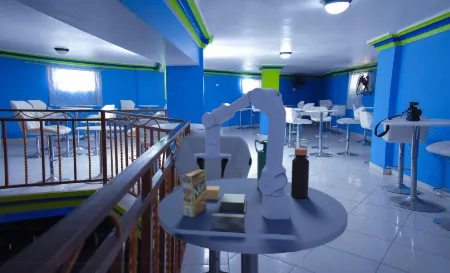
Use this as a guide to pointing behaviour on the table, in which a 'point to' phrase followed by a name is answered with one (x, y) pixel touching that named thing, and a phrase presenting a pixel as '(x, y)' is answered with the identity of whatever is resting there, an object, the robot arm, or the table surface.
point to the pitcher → (261, 158)
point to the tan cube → (213, 192)
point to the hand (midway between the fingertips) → (212, 177)
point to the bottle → (300, 174)
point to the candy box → (194, 192)
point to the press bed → (228, 220)
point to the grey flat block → (233, 202)
